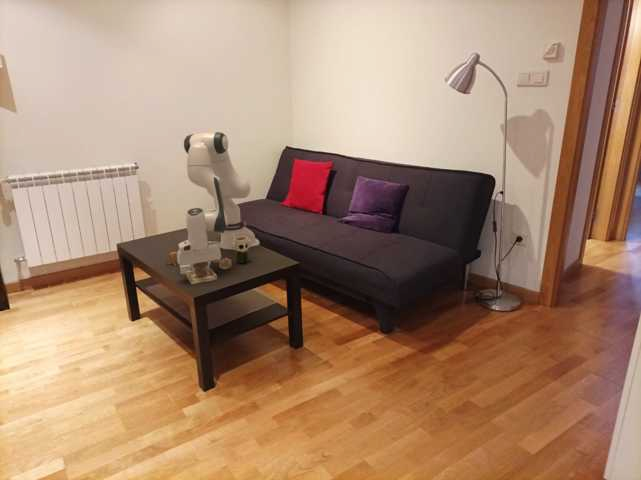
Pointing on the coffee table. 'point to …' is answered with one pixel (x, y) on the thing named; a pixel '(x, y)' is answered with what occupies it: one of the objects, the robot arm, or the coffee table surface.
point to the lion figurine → (172, 257)
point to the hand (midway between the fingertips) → (200, 270)
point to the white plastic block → (185, 268)
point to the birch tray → (195, 279)
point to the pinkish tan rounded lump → (215, 261)
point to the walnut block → (201, 269)
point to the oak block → (225, 263)
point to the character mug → (241, 248)
